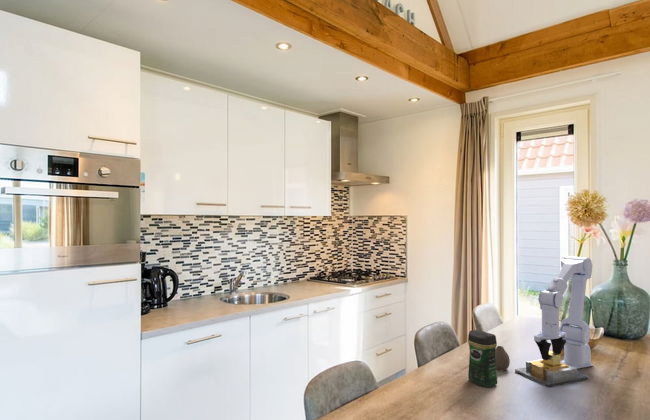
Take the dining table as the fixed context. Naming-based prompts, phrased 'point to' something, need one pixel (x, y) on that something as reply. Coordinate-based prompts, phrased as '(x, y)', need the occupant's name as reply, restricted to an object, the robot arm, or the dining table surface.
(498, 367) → the vase
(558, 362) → the rectangular block
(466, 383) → the dining table surface
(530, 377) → the rosette base
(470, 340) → the coffee jar
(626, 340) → the dining table surface
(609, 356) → the dining table surface
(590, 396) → the dining table surface
